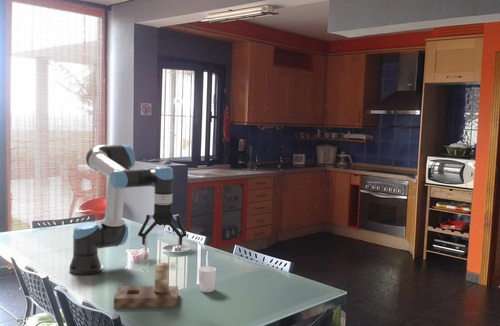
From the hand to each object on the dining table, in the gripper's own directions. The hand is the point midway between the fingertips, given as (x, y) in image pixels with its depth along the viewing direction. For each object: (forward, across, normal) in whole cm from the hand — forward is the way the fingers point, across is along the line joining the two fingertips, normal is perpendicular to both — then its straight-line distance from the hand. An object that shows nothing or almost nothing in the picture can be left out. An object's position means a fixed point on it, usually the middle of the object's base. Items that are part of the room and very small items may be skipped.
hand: (162, 252), depth 212 cm
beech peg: (+21, 0, 0) cm, 21 cm away
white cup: (+22, +20, +13) cm, 32 cm away
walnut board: (+22, -6, 0) cm, 22 cm away
